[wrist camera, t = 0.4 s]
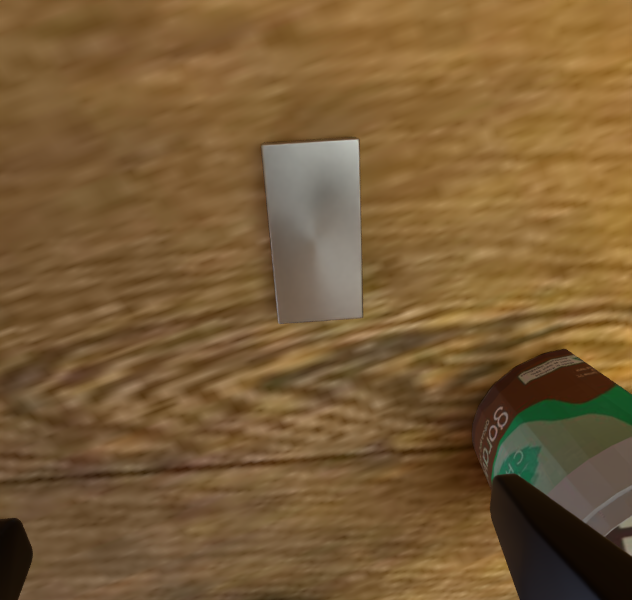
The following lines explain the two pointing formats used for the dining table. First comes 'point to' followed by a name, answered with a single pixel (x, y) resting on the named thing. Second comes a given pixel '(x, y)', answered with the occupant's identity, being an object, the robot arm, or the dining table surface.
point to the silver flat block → (315, 228)
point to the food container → (563, 439)
